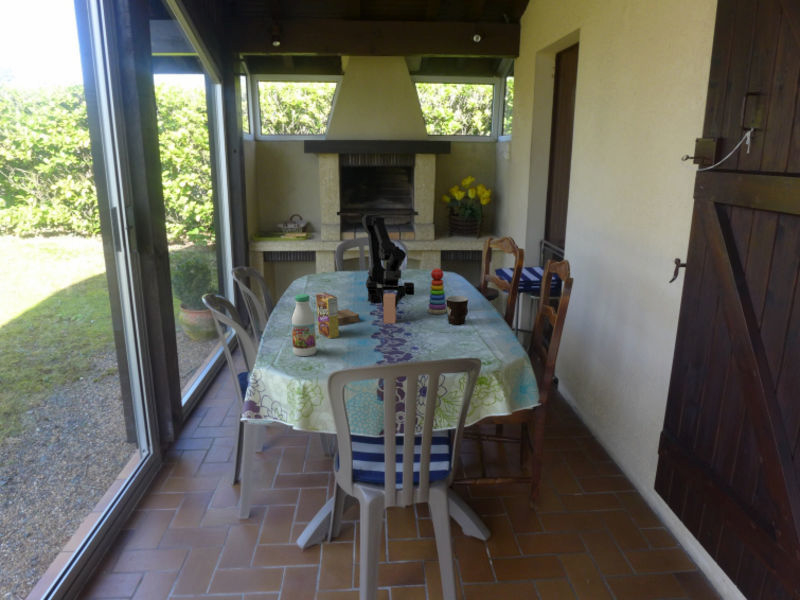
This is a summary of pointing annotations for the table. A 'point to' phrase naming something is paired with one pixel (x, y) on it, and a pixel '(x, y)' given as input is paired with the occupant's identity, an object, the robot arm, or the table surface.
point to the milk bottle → (303, 327)
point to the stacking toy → (437, 293)
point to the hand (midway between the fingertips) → (389, 306)
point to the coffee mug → (457, 309)
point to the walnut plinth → (347, 317)
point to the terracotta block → (389, 308)
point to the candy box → (327, 315)
